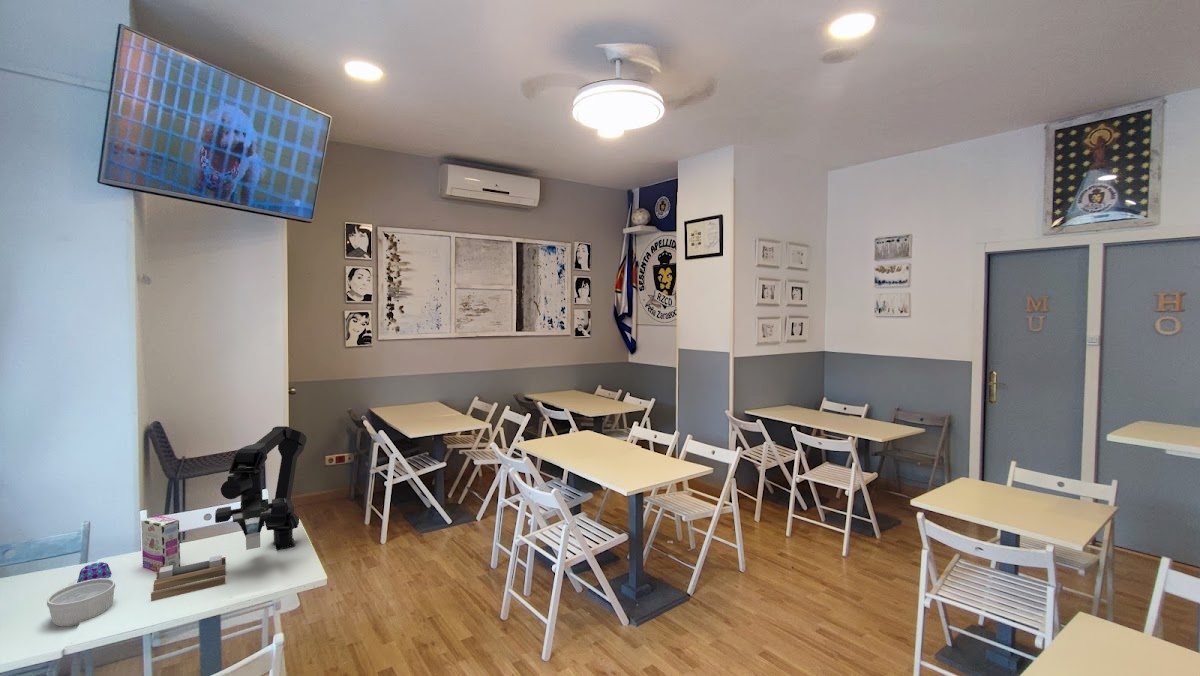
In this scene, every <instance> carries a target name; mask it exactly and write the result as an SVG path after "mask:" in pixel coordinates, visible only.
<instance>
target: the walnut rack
mask: <svg viewBox="0 0 1200 676" xmlns="http://www.w3.org/2000/svg"><path fill="white" fill-rule="evenodd" d="M226 558H227V557H224V556H222V566H218V567H213V568H209V569H204V570H200V571H195V572H190V573H186V574H181V575H177V576H172V577H167V578H163V579H159V571H157V572H156V579H155V580H154V581H153V585H152V586H153V591H152V592H150V602H154V601H159V600H162V599H167V598H170V597H174V596H179V595H183V594H187V593H193V592H197V591H201V590H205V589H209V588H213V587H217V586H222V585H225V584H226V576H227V575H226V570H227V569H226V568H227V564H226ZM205 561H206V560H205ZM205 561H203V562H205ZM201 562H202V561H201ZM201 562H198V563H201ZM196 563H197V562H196ZM196 563H194V564H196ZM191 564H192V563H191ZM191 564H190V563H189V565H191ZM182 566H183V565H180V567H182ZM184 566H186V565H185V564H184ZM176 568H177V567H176Z"/></svg>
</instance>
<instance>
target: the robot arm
mask: <svg viewBox="0 0 1200 676" xmlns="http://www.w3.org/2000/svg"><path fill="white" fill-rule="evenodd" d="M306 443H307V436H306V435H305V434H304V433H303V432H302V431H299V430H296V429H293V428H292V427H290V426H280V425H279V426H274V427H273V428H272V429H271V431H269V432H268V433H267V434H265V435H264V436H263V437H262V438H260V439H259V440H258V441H256V442H255V443H253V444H248V445H245V446H243V447H241V448H239V449H238V451H237V452H236V453H235V455H234V458H233V460H232V463H231V465H230V468H229V471H228V474H229V475H227V478H226V479H227V480H226V481H224V482H223V483H222V485H221V487H220V493H221V495H222V496H223V498H225V499H227V500H235V499H237V498H238V497H240V507H239V508H235V509H232V506H231V505H230V506H225V507H218V508H217V509H216V510H215V513H214V522H215V524H217V523H218V524H219V523H225V522H228V521H230V520H231V518H232V523H237V524H238V525H239V526H240V528H241V530H242V532H243V534H244V536H245V538H246V535H247V527H246V520H247V521H248V520H249V519H254V518H255V519H259V522H258V532H260V533H261V531H262V529H263V527H264V525H265V528H266V530H267V531H273V545H274V546H275V550H276V549H277V550H280V548H282V549H285V547H286V548H291V547H295V546H294V545H296V543H295V540H294V537H293V535H294V534H293V530H294V529H297V528H298V527H299V523H300V518H299V517H298V516H297V514H296V513H295V506H294V503H293V502H292V492H293V486H294V481H295V474H296V467H297V461H298V458H299V456H301V454H302V453H303V451H305V445H306ZM276 447H277V451H278V452H279V454H280V456H281V457H280V458H281V459H280V463H279V464H280V465H279V469H278V470H279V471H278V476H277V483H276V488H275V495H274V498H272V499H271V503H270V502H269V498H265V499H263V477H262V475H263V473H262V472H263V470H265V469H266V466H264V463H265V462H266V461H267V460H268V454H269V453H270V452H271V451H273V450H274V448H276ZM290 546H291V547H290Z"/></svg>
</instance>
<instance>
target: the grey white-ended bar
mask: <svg viewBox="0 0 1200 676" xmlns="http://www.w3.org/2000/svg"><path fill="white" fill-rule="evenodd" d="M222 558H223V556H222V555H221V554H219V555H215V556H209V560H205V562H204V561H201V563H199V562H196V564H195V563H191V565H190V564H187V565H186V566H185V565H181V566H182V567H181V566H180V567H177V568H173V565H171V566H166V567H161V568H160V571H159V579H163V578H167V577H172V576H177V575H181V574H186V573H190V572H195V571H200V570H204V569H209V568H213V567H218V566H222Z"/></svg>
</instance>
